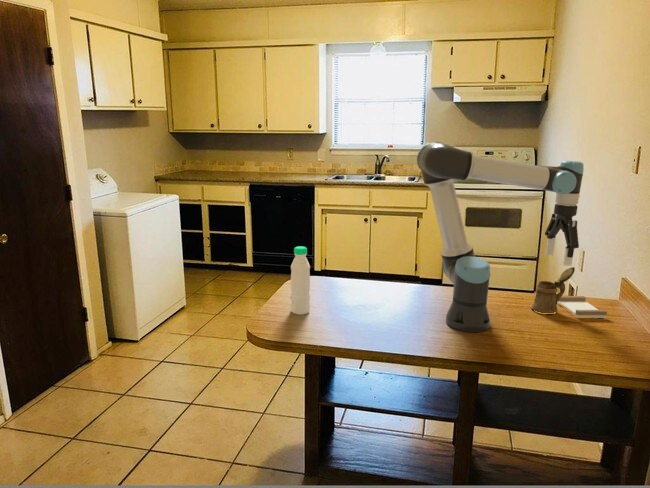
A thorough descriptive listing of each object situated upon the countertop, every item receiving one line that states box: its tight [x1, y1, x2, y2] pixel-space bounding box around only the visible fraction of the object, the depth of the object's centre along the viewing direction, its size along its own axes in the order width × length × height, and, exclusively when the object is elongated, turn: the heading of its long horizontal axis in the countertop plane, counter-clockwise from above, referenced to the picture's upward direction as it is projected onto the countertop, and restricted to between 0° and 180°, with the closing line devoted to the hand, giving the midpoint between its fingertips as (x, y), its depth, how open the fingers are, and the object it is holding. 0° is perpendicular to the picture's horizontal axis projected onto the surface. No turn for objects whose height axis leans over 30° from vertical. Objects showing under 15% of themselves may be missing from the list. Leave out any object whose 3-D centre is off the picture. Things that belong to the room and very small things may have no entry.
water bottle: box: [290, 245, 311, 315], centre depth 181 cm, size 7×7×25 cm
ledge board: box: [558, 295, 608, 319], centre depth 190 cm, size 11×16×3 cm
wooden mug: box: [531, 266, 576, 313], centre depth 187 cm, size 9×14×18 cm, turn 84°
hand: (557, 260), depth 184 cm, fingers open, 13 cm apart
